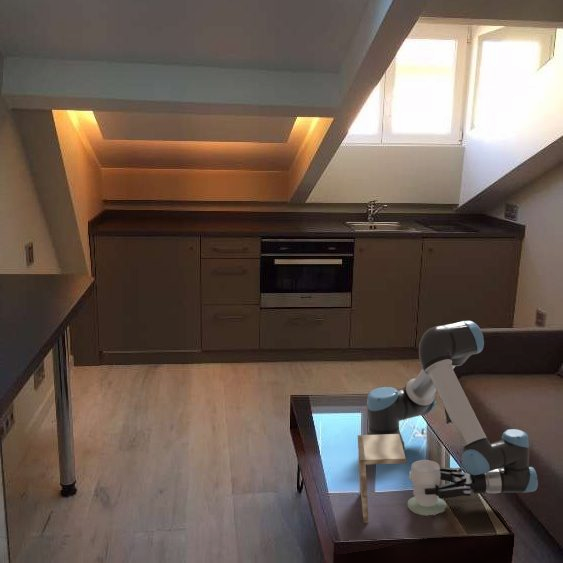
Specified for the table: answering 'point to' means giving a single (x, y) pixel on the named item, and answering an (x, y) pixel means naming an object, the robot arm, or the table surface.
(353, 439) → the table surface
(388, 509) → the table surface
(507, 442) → the robot arm
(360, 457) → the shelf
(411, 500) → the mat
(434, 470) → the cup
